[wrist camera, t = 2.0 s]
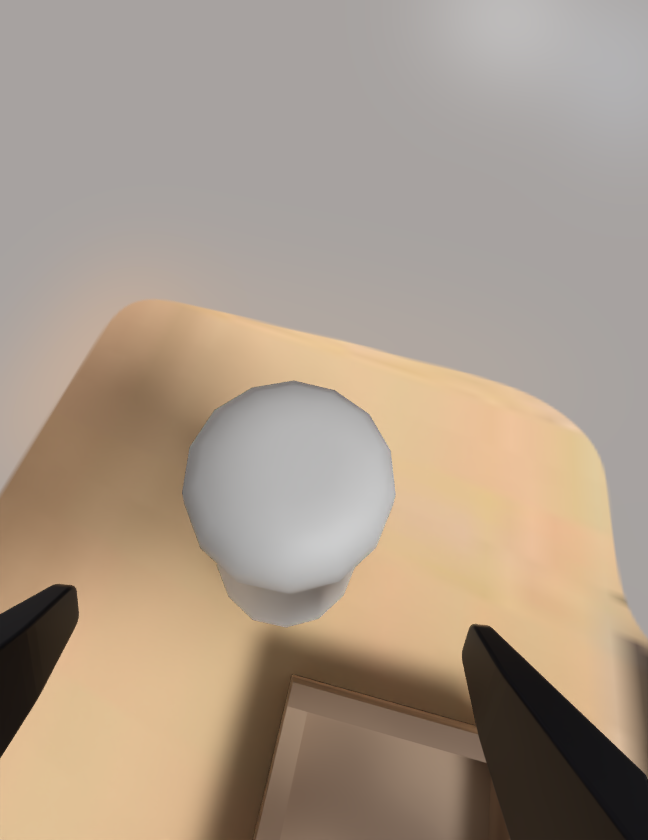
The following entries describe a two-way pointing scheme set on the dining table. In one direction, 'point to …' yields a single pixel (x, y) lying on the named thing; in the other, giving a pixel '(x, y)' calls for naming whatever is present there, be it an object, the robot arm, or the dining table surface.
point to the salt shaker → (288, 497)
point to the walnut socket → (374, 772)
